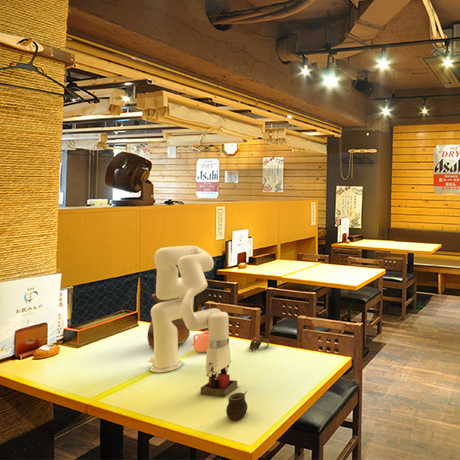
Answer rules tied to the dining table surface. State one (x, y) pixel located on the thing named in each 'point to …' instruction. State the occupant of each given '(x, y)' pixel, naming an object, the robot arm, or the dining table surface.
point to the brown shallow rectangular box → (219, 389)
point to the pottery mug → (258, 342)
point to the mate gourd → (236, 406)
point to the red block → (222, 380)
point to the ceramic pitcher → (179, 323)
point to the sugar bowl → (201, 342)
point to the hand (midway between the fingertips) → (219, 384)
